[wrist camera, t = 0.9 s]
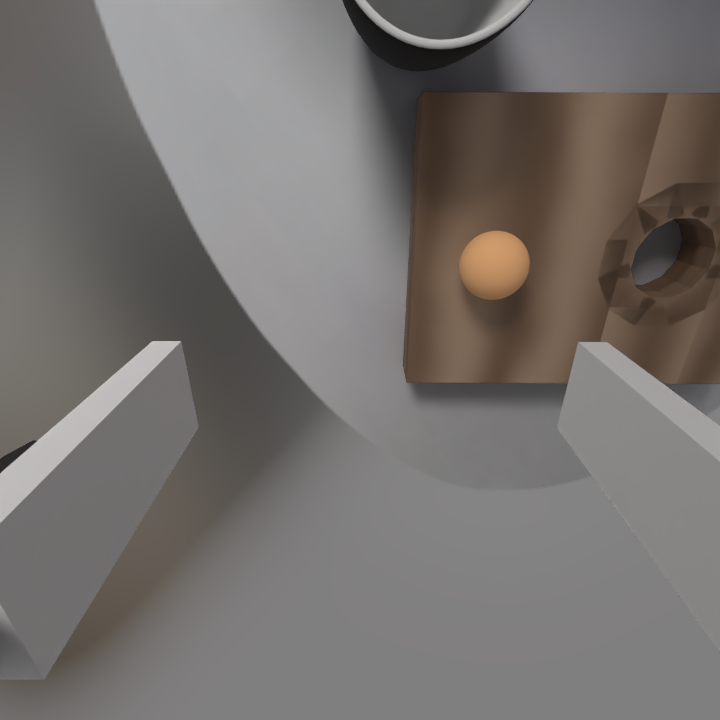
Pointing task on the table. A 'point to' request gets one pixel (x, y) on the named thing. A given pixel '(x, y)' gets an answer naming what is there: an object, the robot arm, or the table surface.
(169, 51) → the table surface
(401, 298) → the table surface
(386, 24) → the mug
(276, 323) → the table surface
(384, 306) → the table surface
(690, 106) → the wooden board
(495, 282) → the ball
